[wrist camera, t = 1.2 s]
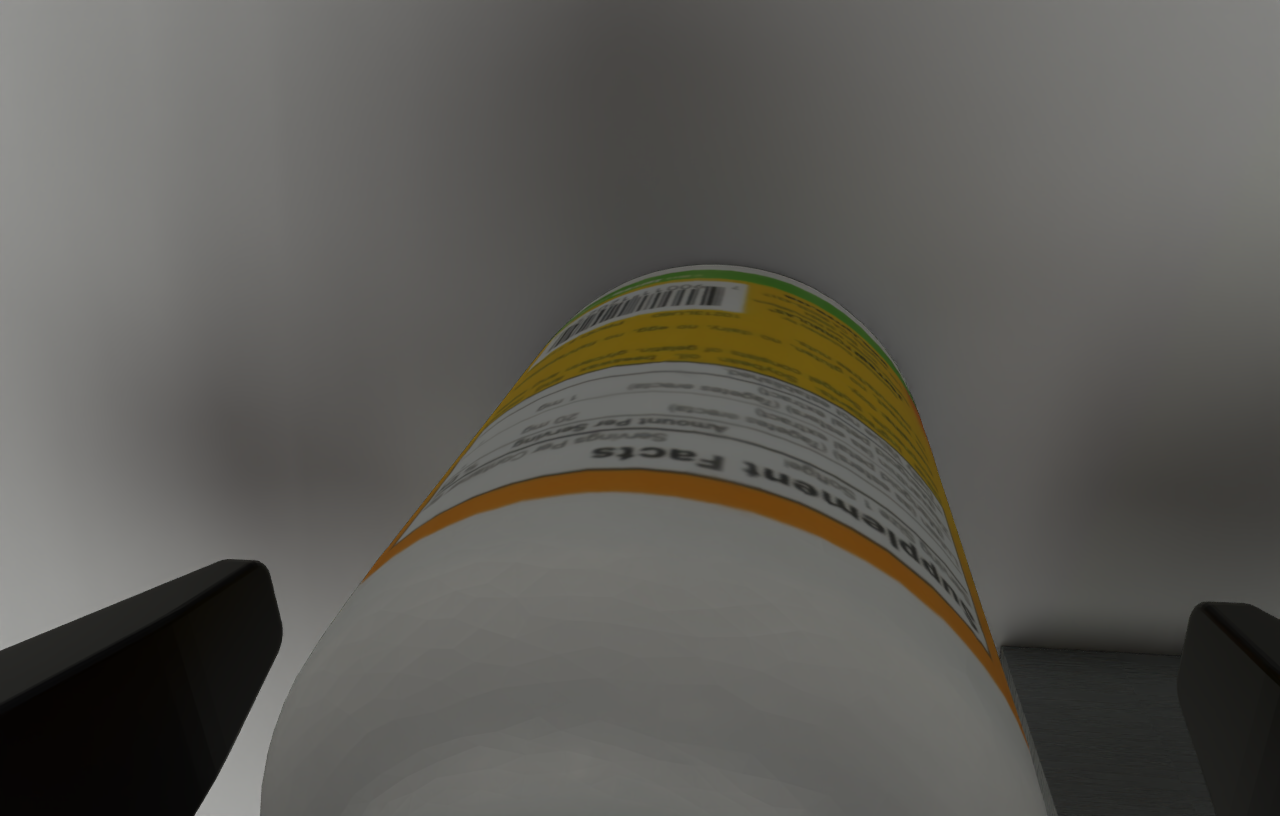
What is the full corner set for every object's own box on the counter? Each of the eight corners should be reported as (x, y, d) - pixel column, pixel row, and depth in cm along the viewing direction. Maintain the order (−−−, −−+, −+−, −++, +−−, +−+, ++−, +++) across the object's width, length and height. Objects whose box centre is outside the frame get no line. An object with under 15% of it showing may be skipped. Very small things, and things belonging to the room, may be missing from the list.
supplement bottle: (772, 673, 14) (729, 1851, 5) (464, 491, 13) (-192, 1409, 4) (1008, 399, 11) (1723, 1645, 3) (648, 172, 11) (72, 739, 2)
